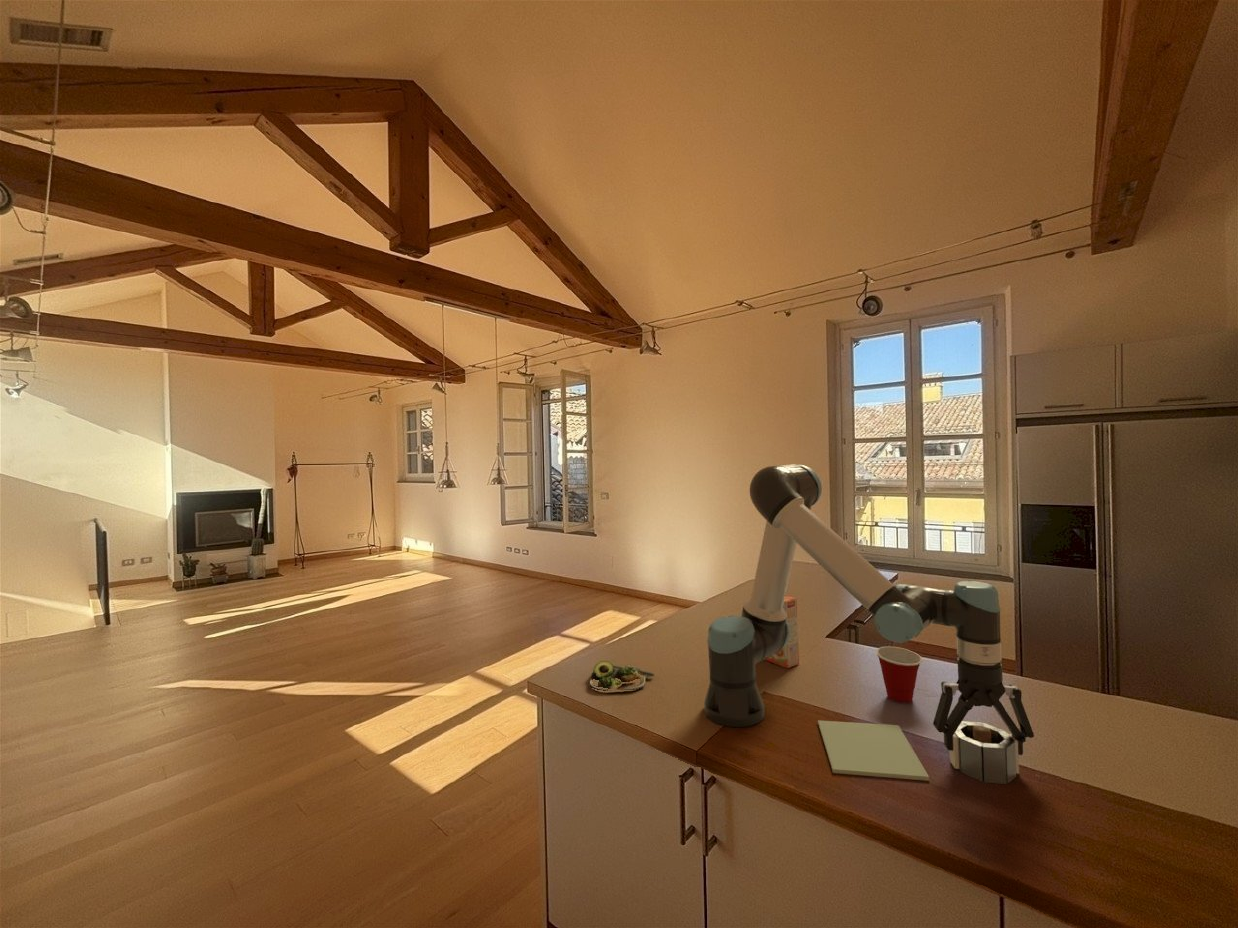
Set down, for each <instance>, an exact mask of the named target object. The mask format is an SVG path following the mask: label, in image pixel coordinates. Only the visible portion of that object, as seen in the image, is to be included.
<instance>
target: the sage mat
mask: <svg viewBox="0 0 1238 928" xmlns="http://www.w3.org/2000/svg"><path fill="white" fill-rule="evenodd" d="M817 725H818V728H819V731H820V734H821V738H822V741H823V743H824V747H825V751H826V754H827V757H828V761H829V765H830V767H831V771H832V773H833V774H842V775H843V774H844V775H852V776H853V775H854V776H865V777H866V776H868V777H880V778H893V779H902V780H903V779H905V780H915V781H916V780H917V781H926V782H927V781H928V782H929V781H930V775H928V773H927V771H926V769H925V767H924V765H923V764H922V762H921V761H920V759H919V757H918V756H917V754H916V752H915V751H914V749H913V747H912V745H911V744H910V742H909V740H908V739H907V738H906V736H905V734H904V732H903V730H902V729H901V727H900V725H899V724H898V725H897V724H885V723H884V724H883V723H868V722H867V723H865V722H852V721H849V722H848V721H832V720H817Z"/></svg>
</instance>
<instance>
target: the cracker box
mask: <svg viewBox="0 0 1238 928" xmlns="http://www.w3.org/2000/svg"><path fill="white" fill-rule="evenodd" d="M751 595H752V592H751V593H750V596H751ZM797 603H798V602H797V598H796V597H791V596H788V595H787V596H786V595H785V599H784V604H783V609H784V610H785V612H786V614H787V618H786V620H787V621H786V622H787V624H788V625H789V639H788V641H787V643H786V645H785V646H784V647H783V648H782V649H781V650H780V651H779V652H777V653H775V654H773V655H771V656H769V657H768V658H766V659H764V661H766V662H769V663H772V664H775V665H777V666H780V667H783V668H786V669H789V668H792V667H795V666H798V665H799V664H800V655H799V653H800V651H799V650H800V649H799V632H798V630H799V629H798V626H799V625H798V609H797V606H798V605H797Z"/></svg>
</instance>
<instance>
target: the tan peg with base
mask: <svg viewBox="0 0 1238 928" xmlns="http://www.w3.org/2000/svg"><path fill="white" fill-rule="evenodd" d="M973 740H976V741H978V742H981V743H990V744H991V730H990V729H988V728H986V727H984V726H974V727H973Z"/></svg>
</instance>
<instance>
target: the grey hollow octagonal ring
mask: <svg viewBox="0 0 1238 928" xmlns="http://www.w3.org/2000/svg"><path fill="white" fill-rule="evenodd" d="M974 726H984V727H986V728H988V729H990V730H991V744H990V743H981V742H978V741H976V740H973V727H974ZM955 734H956V736H957V737H958V753H959V769H958V770H959V772H960V773H961V774H964V775H966V776H969V777H971V778H973V779H975V780H978V781H979V782H982V783H990V784H991V783H992V784H999V785H1000V784H1002V785H1007V784H1010V783H1011V782H1012V781H1013V780H1015V779H1016V777H1017V773H1016V756H1015V741H1014V740H1013V739H1012V738H1011V736H1010V735H1009V734H1010V733H1008V732H1007V730H1004V729H1001V728H998V727H996V726H994V725H990V724H988V723H986V722H985V723H984V722H981V721H978V722H977V721H965V720H962V722H961V724H960V725H959V727H958V728H957V730H956V731H955Z"/></svg>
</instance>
